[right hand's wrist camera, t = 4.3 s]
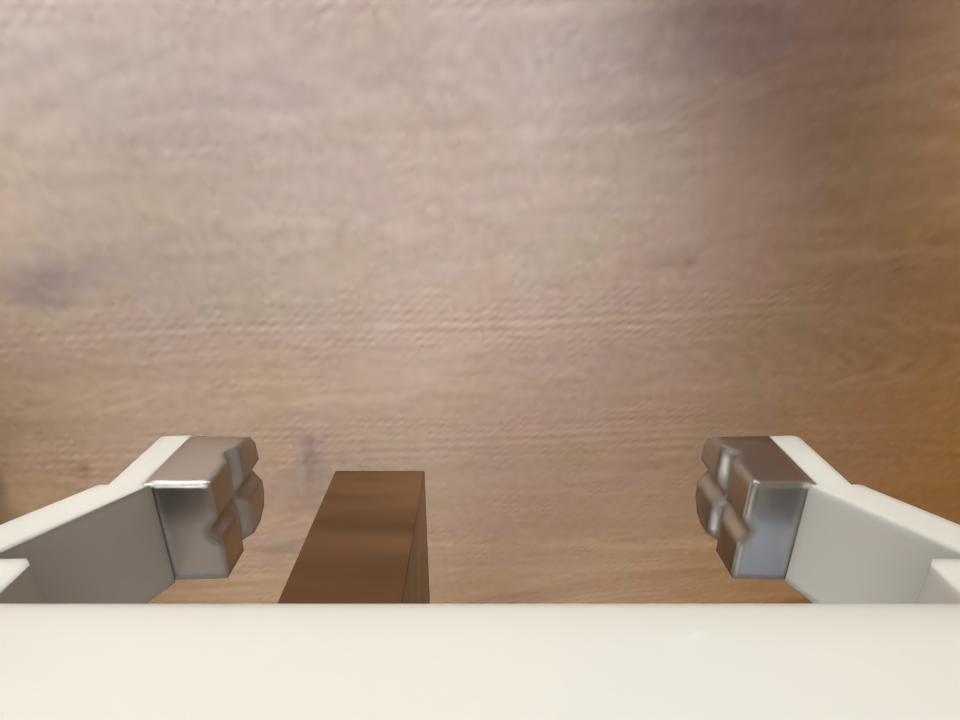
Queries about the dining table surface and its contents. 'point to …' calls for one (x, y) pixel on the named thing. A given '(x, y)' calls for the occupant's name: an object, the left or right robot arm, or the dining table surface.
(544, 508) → the dining table surface
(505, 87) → the dining table surface
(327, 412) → the dining table surface
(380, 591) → the box
